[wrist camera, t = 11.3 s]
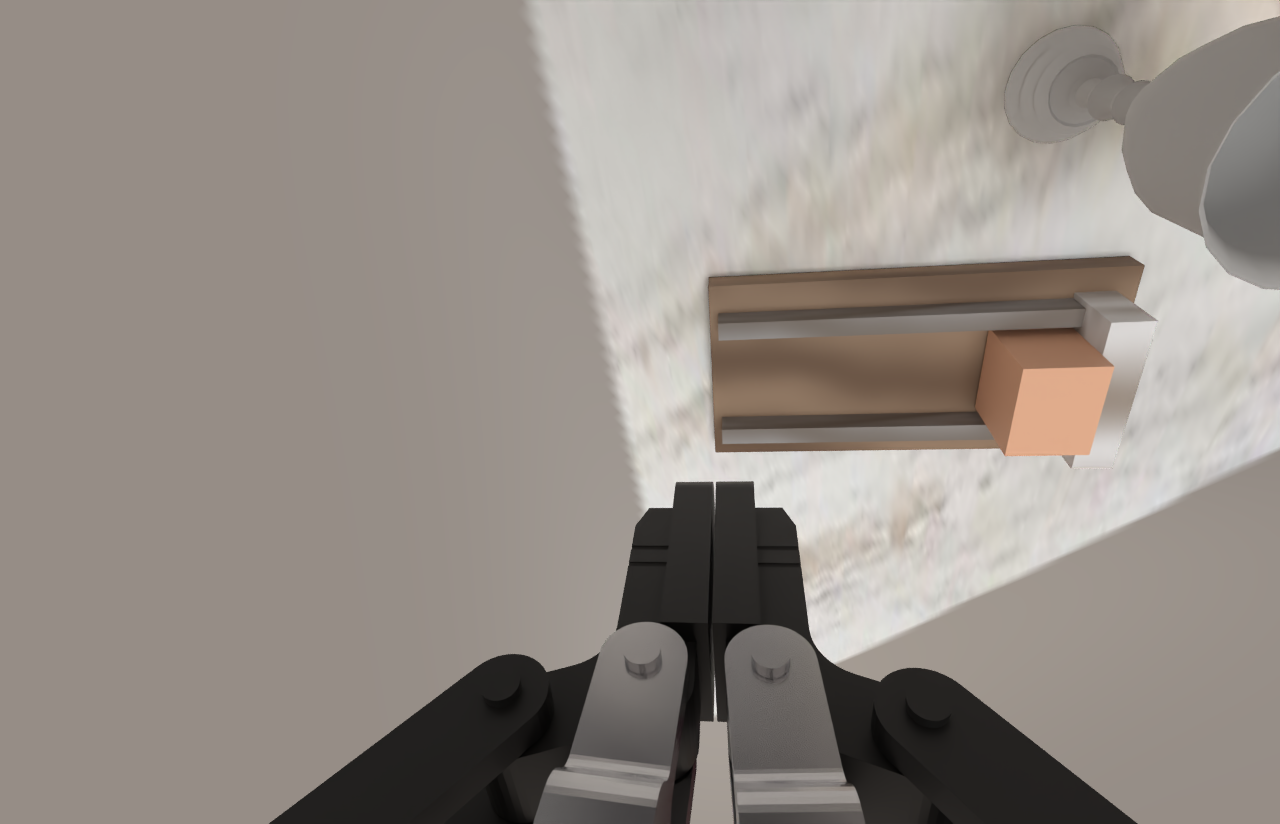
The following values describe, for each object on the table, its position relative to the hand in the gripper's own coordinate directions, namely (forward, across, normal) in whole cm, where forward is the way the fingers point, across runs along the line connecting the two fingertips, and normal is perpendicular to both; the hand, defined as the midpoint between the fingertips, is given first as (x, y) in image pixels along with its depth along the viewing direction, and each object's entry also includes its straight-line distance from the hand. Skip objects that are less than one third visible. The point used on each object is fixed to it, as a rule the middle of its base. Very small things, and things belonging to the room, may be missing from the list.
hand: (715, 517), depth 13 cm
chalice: (+27, -16, -4) cm, 32 cm away
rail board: (+27, -10, +10) cm, 30 cm away
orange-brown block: (+25, -16, +10) cm, 32 cm away
